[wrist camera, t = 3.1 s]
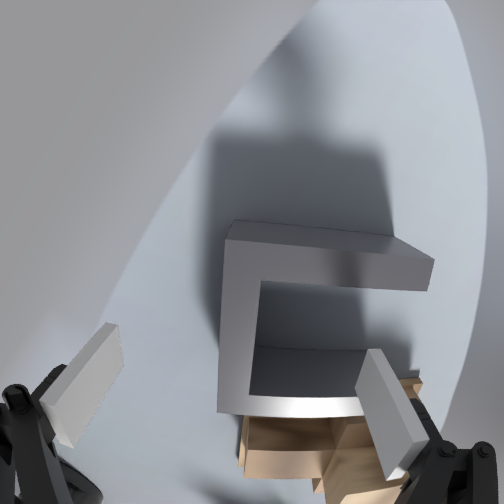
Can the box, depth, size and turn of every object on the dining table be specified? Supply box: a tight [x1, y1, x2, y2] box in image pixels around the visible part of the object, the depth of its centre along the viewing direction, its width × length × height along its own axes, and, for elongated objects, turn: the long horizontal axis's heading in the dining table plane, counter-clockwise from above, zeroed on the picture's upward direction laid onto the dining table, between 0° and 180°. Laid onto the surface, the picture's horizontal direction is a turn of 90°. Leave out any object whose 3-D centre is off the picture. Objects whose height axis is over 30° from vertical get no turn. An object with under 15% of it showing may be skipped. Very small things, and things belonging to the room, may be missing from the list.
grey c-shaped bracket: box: [217, 220, 435, 418], centre depth 20 cm, size 12×12×6 cm
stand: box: [238, 378, 428, 504], centre depth 21 cm, size 17×13×10 cm
